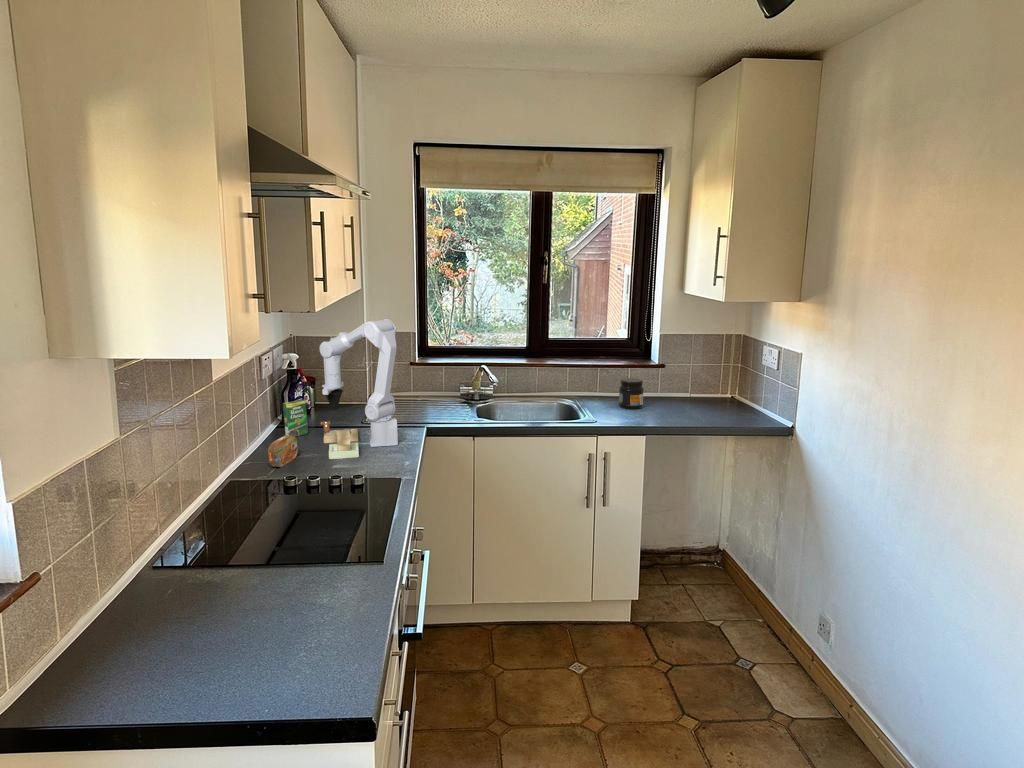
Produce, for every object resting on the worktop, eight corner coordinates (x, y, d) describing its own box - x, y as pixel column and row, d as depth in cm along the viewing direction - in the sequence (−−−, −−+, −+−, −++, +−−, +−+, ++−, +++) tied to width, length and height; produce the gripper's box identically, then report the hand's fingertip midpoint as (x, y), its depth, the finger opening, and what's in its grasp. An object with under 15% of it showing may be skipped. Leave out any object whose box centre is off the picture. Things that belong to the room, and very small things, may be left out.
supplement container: (647, 409, 292) (648, 381, 290) (624, 410, 290) (625, 383, 287) (637, 403, 302) (638, 377, 300) (614, 404, 300) (615, 378, 297)
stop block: (349, 450, 234) (348, 430, 232) (350, 453, 230) (349, 433, 229) (337, 451, 233) (336, 431, 231) (338, 454, 229) (337, 434, 227)
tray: (358, 448, 237) (358, 442, 237) (358, 457, 228) (358, 450, 227) (329, 450, 235) (329, 444, 234) (329, 459, 226) (328, 452, 225)
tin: (276, 470, 215) (274, 445, 213) (267, 469, 215) (265, 444, 214) (300, 456, 229) (298, 431, 227) (291, 455, 230) (289, 431, 228)
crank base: (357, 432, 256) (357, 428, 256) (358, 441, 246) (358, 437, 246) (324, 434, 254) (324, 430, 253) (323, 443, 243) (323, 439, 243)
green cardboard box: (288, 438, 248) (285, 403, 246) (284, 437, 250) (282, 402, 248) (308, 434, 254) (306, 400, 251) (305, 432, 256) (302, 398, 253)
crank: (351, 431, 251) (350, 419, 250) (351, 434, 248) (350, 421, 247) (321, 433, 249) (320, 420, 248) (320, 436, 246) (320, 422, 245)
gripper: (330, 369, 257) (332, 404, 260) (313, 377, 243) (315, 414, 246) (348, 370, 256) (349, 405, 259) (332, 377, 242) (334, 414, 245)
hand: (334, 409), depth 252 cm, fingers closed
